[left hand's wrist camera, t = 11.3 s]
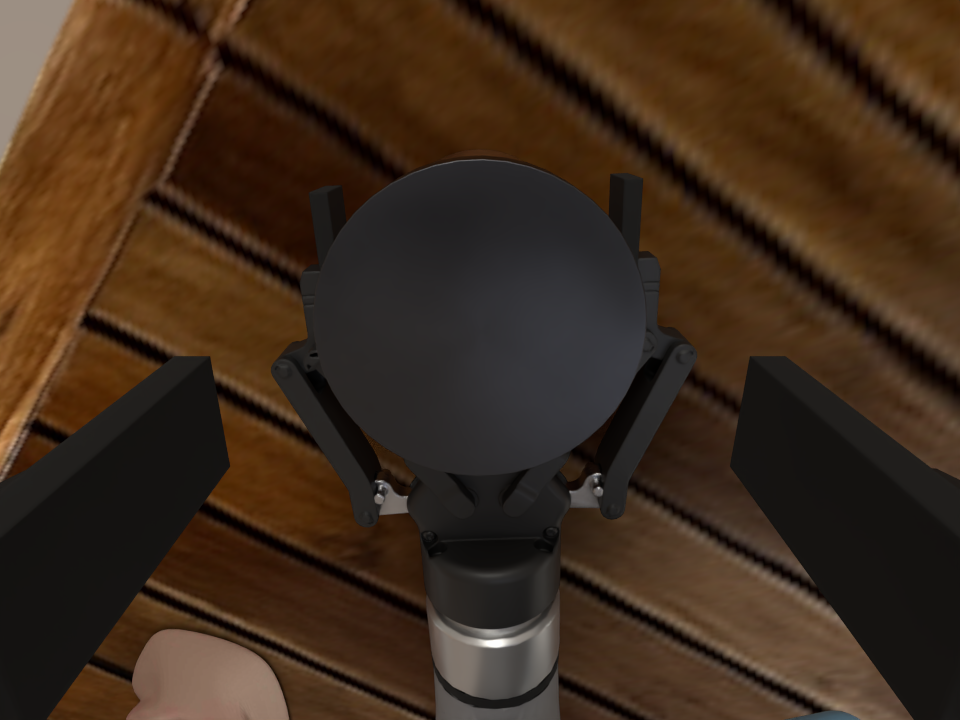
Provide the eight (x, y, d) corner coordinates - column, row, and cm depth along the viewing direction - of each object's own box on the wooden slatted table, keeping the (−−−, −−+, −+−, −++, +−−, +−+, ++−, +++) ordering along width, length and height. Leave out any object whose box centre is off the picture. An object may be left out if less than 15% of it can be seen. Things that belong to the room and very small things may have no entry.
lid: (270, 338, 20) (250, 359, 18) (451, 80, 17) (448, 75, 15) (501, 495, 22) (503, 526, 21) (696, 291, 19) (717, 308, 18)
